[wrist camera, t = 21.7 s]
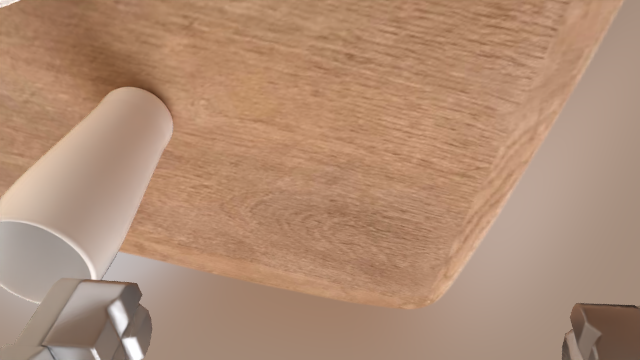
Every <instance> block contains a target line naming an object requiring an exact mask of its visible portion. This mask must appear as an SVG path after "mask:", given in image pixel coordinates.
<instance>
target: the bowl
mask: <svg viewBox="0 0 640 360" xmlns="http://www.w3.org/2000/svg"><path fill="white" fill-rule="evenodd" d="M17 1H19V0H0V8H1V7H4V6H6V5H9V4H11V3H14V2H17Z"/></svg>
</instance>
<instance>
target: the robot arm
mask: <svg viewBox="0 0 640 360" xmlns="http://www.w3.org/2000/svg"><path fill="white" fill-rule="evenodd" d="M141 296H142V293H141V291H140V289H139V287H138V284H137V283H130V282H118V281H105V280H92V279H75V278H61V279H59V280H58V281H56V282H55V283H54V284H53V286H52V287H51V289H50V290H49V292H48V293H47V295H46V296H45V298H44V299H43V301H42V302H41V304H40V305H39V307H38V308H37V310H36V311H35V313H34V314H33V316H32V317H31V319H30V320H29V322H28V323H27V325H26V326H25V328H24V329H23V331H22V332H21V334H20V335H19V337H18V339H17V340H16V341H15V343H14V344H6V345H4V346H3V347H2V348H0V360H142V359H143V358H144V357H145V355H146V352H147V350H148V347H149V345H150V339H151V333H152V323H151V317H150V315H149V312H148V310H147V309H146V308H144V307H143V306H142V305H140V304H139V301H140V299H141ZM570 319H571V323H572V327H573V329H571V330H570V331H569V332H567V333H566V334H565V338H564V342H563V346H562V360H640V306H635V305H609V304H584V303H576V304H575V306H574V307H573V309H572V312H571V316H570Z"/></svg>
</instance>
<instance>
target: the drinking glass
mask: <svg viewBox="0 0 640 360" xmlns="http://www.w3.org/2000/svg"><path fill="white" fill-rule="evenodd" d="M172 133H173V120H172V117H171V114H170V112H169V110H168V108H167V107H166V105H165V104H164V103H163V102H162V101H161V100H160V99H159V98H158V97H156V96H155V95H154V94H152V93H150V92H148V91H146V90H144V89H141V88H136V87H121V88H118V89H115V90H113V91H111V92H110V93H108V94H107V95H106V96H105V97H104V98H103V99H102V100H101V102H100V103H99V104H98V105H97V106H96V107H95V108H94V109H93V110H92V111H91V112H90V113H89V114H88V115H87V116H86V117H85V118H84V119H82V120H81V121H80V122H79V123H78V124H77V125H76V126H75V127H74V128H73V129H72V130H70V131H69V132H68V133H67V134H66V135H65V136H64V137H63V138H62V139H61V140H59V141H58V142H57V143H56V144H55V145H54V146H53V147H52V148H51V149H49V150H48V151H47V152H46V153H45V154H44V155H43V156H42V157H40V158H39V159H38V160H37V161H36V162H35V163H34V164H33V165H32V166H31V167H30V168H28V169H27V170H26V171H25V172H24V173H23V174H22V175H21V176H20V177H19V178H18V179H17V180H16V181H15V182H14V183H13V184H12V185H11V186H10V188H9V189H8V190H7V191H6V192H5V193H4V194H3V195H2V197H1V198H0V286H1V287H2V288H4V289H6V290H7V291H9V292H11V293H12V294H14V295H16V296H18V297H21V298H23V299H25V300H28V301H31V302H34V303H38V304H41V302H42V301H43V299H44V298H45V296H46V295H47V293H48V292H49V290H50V289H51V287H52V286H53V284H54V283H55V282H56V281H58V280H59V279H61V278H75V279H92V280H101V279H102V278H103V276H104V275H105V273H106V271H107V270H108V269H109V267H110V265H111V264H112V262H113V260H114V258H115V257H116V255H117V253H118V251H119V249H120V247H121V246H122V244H123V242H124V240H125V238H126V236H127V233H128V231H129V229H130V227H131V225H132V222H133V220H134V218H135V215H136V213H137V211H138V208H139V206H140V204H141V201H142V199H143V197H144V194H145V192H146V190H147V187H148V185H149V183H150V180H151V178H152V176H153V174H154V171H155V169H156V167H157V164H158V162H159V160H160V158H161V156H162V153H163V151H164V150H165V148H166V146H167V145H168V143H169V141H170V139H171V137H172Z"/></svg>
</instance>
